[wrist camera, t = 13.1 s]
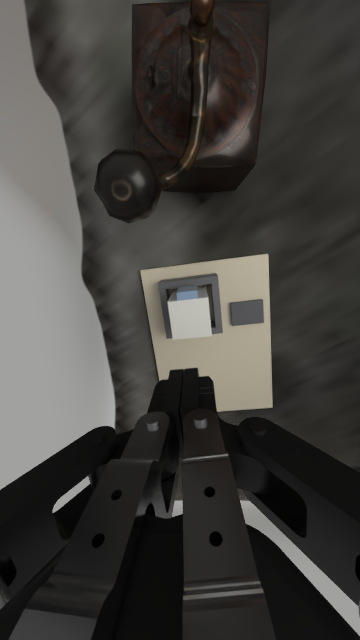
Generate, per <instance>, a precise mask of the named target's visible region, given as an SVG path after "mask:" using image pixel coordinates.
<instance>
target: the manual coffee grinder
mask: <svg viewBox="0 0 360 640" xmlns="http://www.w3.org/2000/svg"><path fill="white" fill-rule="evenodd" d="M270 6H271V3H268V2H248V1H238V2H215V0H190V2H181V3H145V4H132V99H133V137H134V148H135V151H132V150H122V149H116V150H114V151H113V152H111V153H110V154H109V155H107V156H106V157H105V158H103V159H102V160H101V161H100V163H99V164H98V170H97V176H96V182H95V186H94V190H95V192H96V193H97V195H98V196H99V198H100V200H101V201H102V203H103V204H104V206H105V208H106V210H107V212H108V214H109V216H111V217H114V218H116V219H119V220H121V221H124V222H127V223H131V222H135V221H138V220H142V219H145V218H147V217H148V216H149V215H150V214H151V213H152V212H153V211H154V210H155V208H156V205H157V202H158V199H159V196H160V193H161V190H163V191H171V192H217V191H224V190H233V189H237V187H238V186H239V185H240V183H241V182H242V181H243V180H244V179H245V177H246V176H247V175H248V174H249V172H250V171H251V170H252V169H253V167H254V166H255V164H256V157H257V149H258V140H259V131H260V122H261V113H262V104H263V95H264V87H265V78H266V65H267V48H268V31H269V15H270Z"/></svg>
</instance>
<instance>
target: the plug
mask: <svg viewBox="0 0 360 640" xmlns="http://www.w3.org/2000/svg"><path fill="white" fill-rule="evenodd" d="M167 303H168V310H169V317H170V324H171V330H172V337H173V340H177V339H188V338H198V337H208V336H212V331H211V321H210V310H209V300H208V295H207V291H206V287H205V285H201V286H197V285H192V286H184V287H179V288H176V289H174V290H173V292H172V294H171V296H170V298H169V300H168V302H167Z"/></svg>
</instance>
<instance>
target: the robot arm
mask: <svg viewBox="0 0 360 640" xmlns="http://www.w3.org/2000/svg"><path fill="white" fill-rule="evenodd" d="M179 457H184V458H183V459H182V486H183V514H182V515H178V516H175V517H172V512H173V506H174V500H175V494H176V488H177V482H178V475H179V472H178V463H179ZM87 476H88V477H89V480H90V483H91V484H89V485H88V486H87V487H86V488H85V489H83V490H82V491H81V492H80V493H78V494H77V495H76V496H75V497H74V498H73V499H71V500H70V501H69V502H68V503H66V504H65V505H64V506H63V507H62V508H60V509H59V510H58V511H56V512H55V513H52V510H53V507H54V505H55V503H56V502H57V500H58V499H59V498H60V497H61V496H63V495H64V494H65V493H67V492H68V491H69V490H70V489H72V488H73V487H74V486H75V485H77V484H78V483H79V482H81V481H82V480H83V479H84V478H86V477H87ZM237 488H239V489H243V491H244V494H245V496H246V497H247V498H248V499H249V500H250V501H251V502H252V503H253V504H254V505H255V506H256V507H257V508H258V509H259V510H260V511H261V512H262V513H263V514H264V515H265V516H266V517H267V518H268V519H269V520H270V521H271V522H272V523H273V524H274V525H275V526H276V527H277V528H278V529H279V530H280V531H281V532H282V533H283V534H285V535H286V536H287V537H288V538H289V539H290V540H291V541H292V542H293V543H294V544H295V545H296V546H297V547H298V548H299V549H300V550H301V551H302V552H303V553H304V554H305V555H306V556H307V557H308V558H309V559H310V560H311V561H312V562H313V563H314V564H316V566H317V567H318V568H319V569H321V570H322V571H323V572H324V573H325V574H326V575H327V576H328V577H329V578H330V579H331V580H332V581H333V582H334V583H335V584H336V585H337V586H338V587H339V588H340V589H341V590H342V591H343V592H344V593H345V594H346V595H347V596H348V597H349V598H350V599H351V600H352V601H353V602H354V603H356V604H357V605H358V606H359V616H360V473H359V472H357V471H356V470H354V469H352V468H350V467H349V466H347V465H345V464H344V463H342V462H340V461H338V460H337V459H335V458H333V457H331V456H330V455H328V454H326V453H325V452H323V451H321V450H319V449H318V448H316V447H314V446H312V445H311V444H309V443H307V442H306V441H304V440H302V439H300V438H299V437H297V436H295V435H294V434H292V433H290V432H288V431H287V430H285V429H283V428H281V427H280V426H278V425H276V424H275V423H273V422H271V421H269V420H267V419H265V418H260V417H251V418H247V419H245V420H243V421H242V422H241V423H240V424H239V426H237V425H232V424H228V423H226V422H224V421H223V420H221V419H220V418H219V416H218V414H217V408H216V400H215V392H214V383H213V380H212V379H211V378H210V377H209V376H201V377H199V371H198V368H186V369H175V370H170V372H169V377H168V379H165V380H160V381H159V382H158V383H157V385H156V386H155V389H154V393H153V395H152V399H151V402H150V405H149V408H148V412H147V414H145V415H143V416H142V417H141V418H140V419H139V420H138V421H137V423H136V425H135V427H134V429H133V430H131V431H128V432H124V433H121V434H118V435H116V431H115V429H114V428H112V427H110V426H102V427H98V428H95V429H93V430H91V431H89V432H88V433H86V434H85V435H83V436H82V437H80V438H79V439H77V440H76V441H74V442H73V443H71V444H70V445H68V446H67V447H65V448H63V449H62V450H60V451H59V452H57V453H56V454H54V455H53V456H51V457H50V458H48V459H47V460H45V461H44V462H42V463H41V464H39V465H38V466H36V467H34V468H33V469H31V470H30V471H29V472H27V473H25V474H24V475H22V476H21V477H19V478H18V479H16V480H15V481H13V482H12V483H10V484H9V485H7V486H6V487H4V488H3V489H1V490H0V640H360V636H359V635H358V634H357V633H356V632H355V631H354V630H353V629H352V627H351V626H350V625H349V624H348V623H347V622H346V621H345V620H344V618H343V617H342V616H341V615H340V614H339V613H338V612H337V611H336V610H335V609H334V608H333V606H332V605H331V604H330V603H329V602H328V601H327V600H326V599H325V598H324V597H323V595H322V594H320V592H319V591H318V590H317V589H316V588H315V587H314V586H313V584H312V583H311V582H310V581H309V580H308V579H307V578H306V577H305V576H304V574H303V573H302V572H301V571H300V570H299V569H298V568H297V567H296V566H295V565H294V563H292V561H291V560H290V559H289V558H288V557H287V556H286V555H285V553H284V552H282V550H281V549H280V548H279V547H278V546H277V545H276V544H275V543H274V542H273V541H272V540H270V539H269V538H268V537H267V536H266V535H264V534H263V533H261V532H260V531H259V530H257V529H255V528H253V527H252V526H249V525H247V524H245V520H244V516H243V512H242V508H241V503H240V499H239V495H238V491H237Z"/></svg>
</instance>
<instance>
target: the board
mask: <svg viewBox="0 0 360 640" xmlns="http://www.w3.org/2000/svg"><path fill="white" fill-rule="evenodd" d="M140 272H141V278H142V284H143V289H144V295H145V301H146V306H147V312H148V318H149V324H150V329H151V335H152V341H153V346H154V352H155V358H156V364H157V369H158V375H159V381H160V380H165V379H168V377H169V372H170V370H175V369H186V368H198V371H199V377H201V376H209V377H210V378H211V379H212V380H213V383H214V392H215V400H216V408H217V412H218V411H232V410H246V409H259V408H273V405H272V370H271V334H270V299H269V263H268V254H259V255H252V256H244V257H236V258H229V259H221V260H214V261H206V262H198V263H191V264H183V265H176V266H168V267H160V268H153V269H145V270H140ZM192 285H197V286H201V285H205V287H206V291H207V295H208V300H209V310H210V321H211V331H212V336H208V337H198V338H188V339H177V340H173V337H172V330H171V324H170V317H169V310H168V303H167V302H168V300H169V298H170V296H171V294H172V292H173V290H174V289H176V288H179V287H184V286H192Z"/></svg>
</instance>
